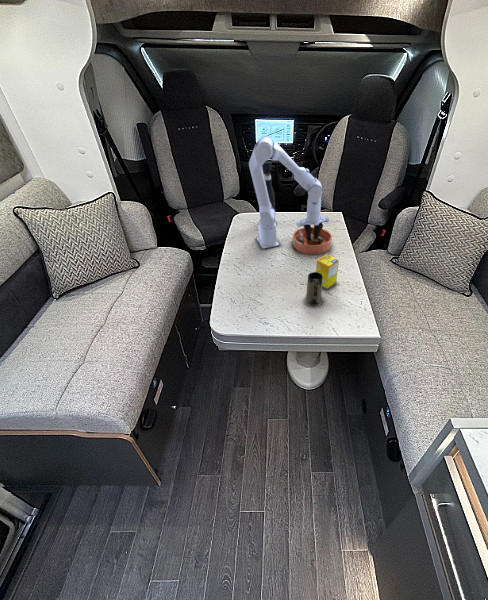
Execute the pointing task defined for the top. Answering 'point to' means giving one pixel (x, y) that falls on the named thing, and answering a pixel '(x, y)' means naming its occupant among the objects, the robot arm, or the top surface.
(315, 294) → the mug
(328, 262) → the supplement box
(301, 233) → the bowl
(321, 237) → the bead
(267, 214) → the robot arm
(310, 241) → the brown wooden block
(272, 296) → the top surface
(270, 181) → the wine bottle
